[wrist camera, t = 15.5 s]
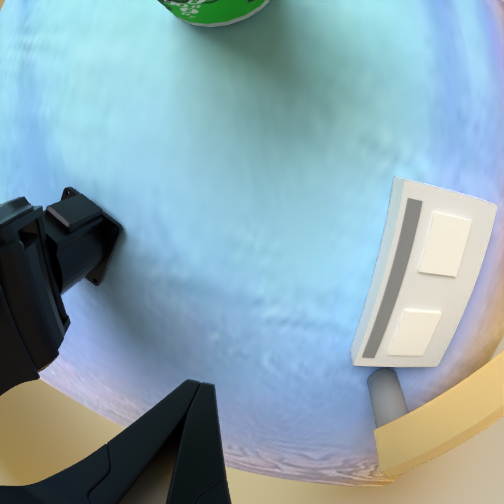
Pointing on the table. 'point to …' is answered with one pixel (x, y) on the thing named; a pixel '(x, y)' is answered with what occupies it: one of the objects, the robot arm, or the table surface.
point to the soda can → (213, 10)
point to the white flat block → (422, 275)
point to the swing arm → (432, 416)
